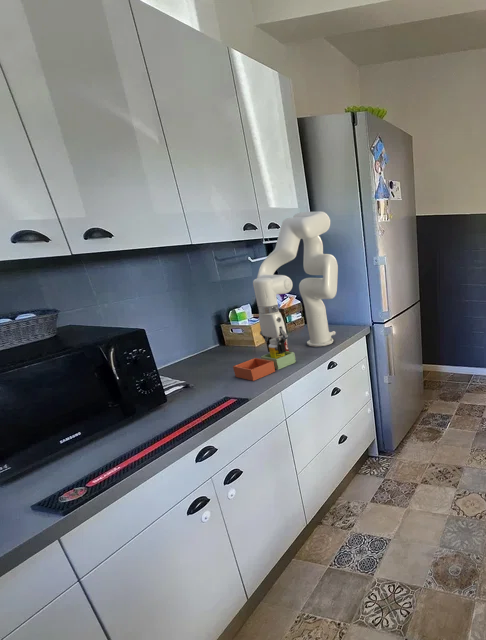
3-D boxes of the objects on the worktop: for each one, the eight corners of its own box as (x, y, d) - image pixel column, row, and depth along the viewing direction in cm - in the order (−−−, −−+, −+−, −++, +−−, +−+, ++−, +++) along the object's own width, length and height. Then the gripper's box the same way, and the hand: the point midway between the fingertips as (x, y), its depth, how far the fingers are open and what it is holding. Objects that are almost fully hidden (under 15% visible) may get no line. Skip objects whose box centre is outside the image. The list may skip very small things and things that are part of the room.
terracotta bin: (257, 367, 160) (255, 357, 158) (275, 371, 155) (273, 361, 153) (235, 376, 151) (232, 366, 150) (253, 381, 147) (250, 370, 145)
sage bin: (280, 359, 169) (278, 349, 167) (296, 362, 165) (294, 352, 163) (262, 366, 161) (260, 356, 159) (278, 369, 157) (276, 359, 155)
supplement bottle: (277, 365, 159) (272, 342, 155) (269, 363, 162) (264, 340, 158) (288, 361, 163) (284, 338, 159) (280, 359, 166) (276, 336, 162)
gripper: (291, 309, 153) (298, 351, 160) (261, 306, 161) (270, 347, 168) (276, 313, 147) (284, 357, 154) (246, 309, 155) (255, 352, 162)
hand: (276, 351), depth 161 cm, fingers closed on supplement bottle, 5 cm apart
